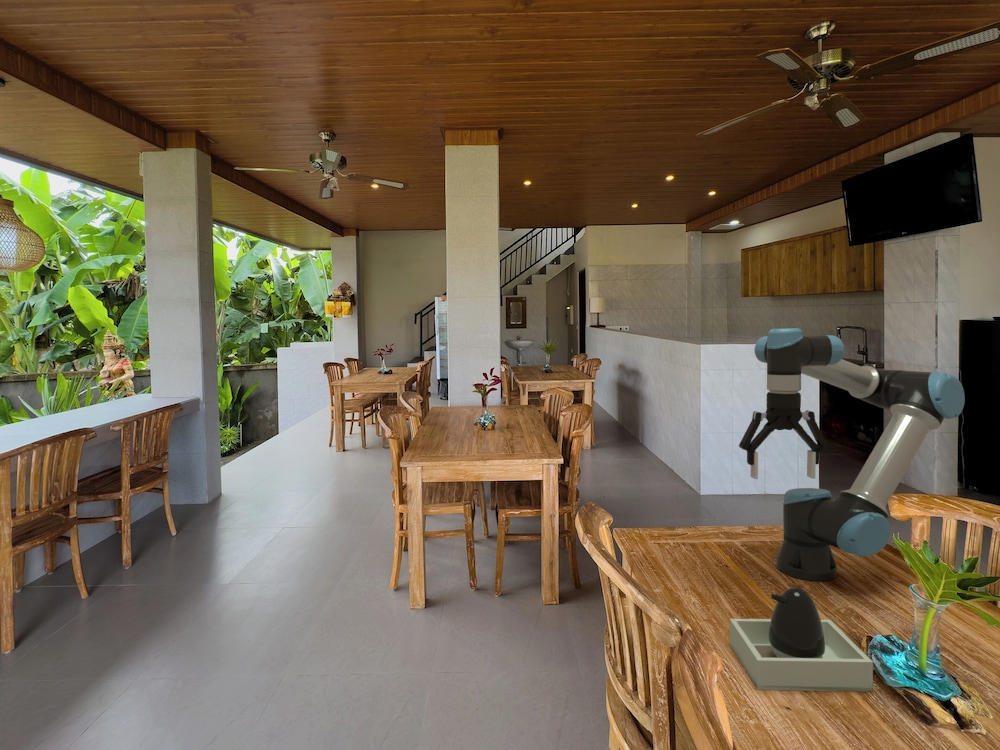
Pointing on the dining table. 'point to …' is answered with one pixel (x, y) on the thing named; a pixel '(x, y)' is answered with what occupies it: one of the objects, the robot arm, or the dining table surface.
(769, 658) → the tray
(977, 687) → the dining table surface
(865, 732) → the dining table surface
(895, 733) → the dining table surface
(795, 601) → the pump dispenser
